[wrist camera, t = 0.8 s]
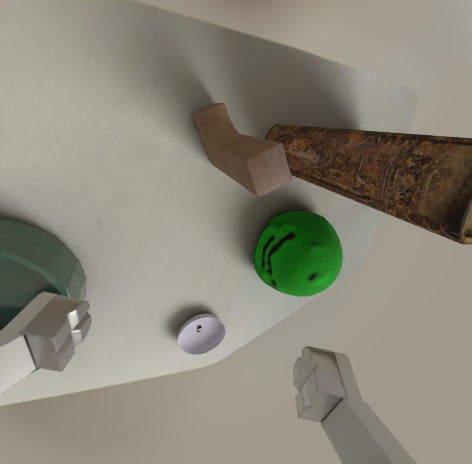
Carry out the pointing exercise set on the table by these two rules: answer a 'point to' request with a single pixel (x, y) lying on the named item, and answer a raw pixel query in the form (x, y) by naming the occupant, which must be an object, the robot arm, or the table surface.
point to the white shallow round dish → (201, 334)
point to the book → (388, 173)
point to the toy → (298, 254)
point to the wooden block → (241, 152)
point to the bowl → (34, 268)
